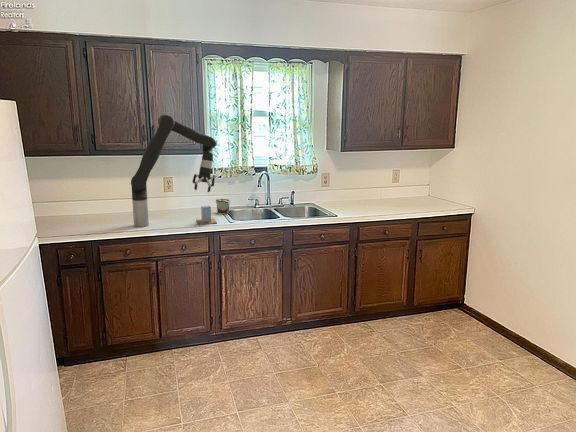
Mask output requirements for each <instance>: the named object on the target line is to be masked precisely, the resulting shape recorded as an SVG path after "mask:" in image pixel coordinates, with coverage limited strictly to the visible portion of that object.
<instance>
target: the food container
mask: <svg viewBox="0 0 576 432" xmlns="http://www.w3.org/2000/svg"><path fill="white" fill-rule="evenodd" d="M215 203H216V211H217V213H218V214H222V213H225V214H224V215H229V213H230V204H231V200H230V199H228V198H218V199H217V198H216V200H215Z"/></svg>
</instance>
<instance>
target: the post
mask: <svg viewBox="0 0 576 432" xmlns="http://www.w3.org/2000/svg"><path fill="white" fill-rule="evenodd" d="M195 220H196V222H197V224H198V225H199V226H200V225H201V226H204V225H217V224H218V222H217V221H216V219H215V218H211V222H202V218H201V219H195Z"/></svg>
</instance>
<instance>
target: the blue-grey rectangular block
mask: <svg viewBox="0 0 576 432" xmlns="http://www.w3.org/2000/svg"><path fill="white" fill-rule="evenodd" d="M200 208H201V209H200V212H201V217H200V218H201V219H202V222H211V219H212V206H210V205H201V206H200Z"/></svg>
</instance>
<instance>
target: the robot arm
mask: <svg viewBox="0 0 576 432" xmlns="http://www.w3.org/2000/svg"><path fill="white" fill-rule="evenodd" d="M157 124H158V127H157V130H156V132H155V134H154V136H153V137H152V138H151V139H150V141H149V142H148V144H147V146H146V147H145V150H144V152H143V155H142V156H141V160H140V164H139V167H138V169H137V171H136V172H135V174H134V175H133V176H132V177H131V179H130V185H131V200H132V214H133V215H132V216H133V217H132V218H133V227H134V228H143V227H148V226H149V207H148V205H149V204H148V191H147V189H148V188H147V181H148V178H149V176H150V175H151V174H150V173H151V171H152V169H153V168H154V166H156V164H157V161H158V160H159V157H160V155H161V153H162V150H163V148H164V146H165V143H166V141H167V138H168V137H169V135H170V134H171V132H174V133H176V134H179V135H180V136H182V137H184V138H186V139H189V140H190V141H192V142H194V143H195V144H196V143H197V144H200V145H202V155H201V161H200V166H199V173H198V174H196V173H195V174H193V176H192V177H193V178H192V184H194V190H195V191H197V189H198V184H199V183H200V182H201V183H206V184H207V193H209V192H211V188H212V187H215V179H216V178H215V177H211V174H212V168H213V167H212V166H213V160H214V159H213V158H214V153H213V149H214V148H215V147H216V146H217V141H216V139H215V138H213V137H212V136H209V135H206V134H203V133H202V132H200V131H198V130H195V129H194V128H191V127H188V126H186V125H183V124H182V123H179V122H177V120H175V119H174V118H173V117H172V116H170V115H168V114H161V115H160V116H159V117H158V118H157ZM210 181H211V182H210Z"/></svg>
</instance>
